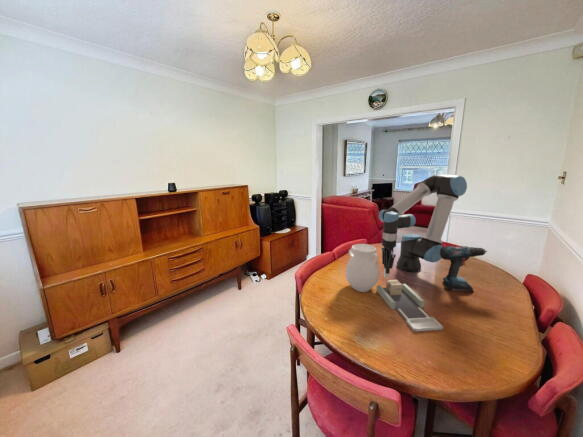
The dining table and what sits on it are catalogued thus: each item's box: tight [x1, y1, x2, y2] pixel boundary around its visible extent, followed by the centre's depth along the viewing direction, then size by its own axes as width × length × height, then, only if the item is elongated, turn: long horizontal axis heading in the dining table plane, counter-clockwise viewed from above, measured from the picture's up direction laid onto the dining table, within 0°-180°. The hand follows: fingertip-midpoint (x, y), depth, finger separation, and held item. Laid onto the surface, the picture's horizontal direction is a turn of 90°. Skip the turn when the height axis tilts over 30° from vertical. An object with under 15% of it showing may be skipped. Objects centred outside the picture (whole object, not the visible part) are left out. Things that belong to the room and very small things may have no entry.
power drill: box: [440, 245, 488, 293], centre depth 140 cm, size 9×23×25 cm, turn 78°
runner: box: [382, 287, 431, 322], centre depth 129 cm, size 30×13×1 cm, turn 4°
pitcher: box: [345, 243, 380, 293], centre depth 142 cm, size 19×18×25 cm
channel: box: [376, 283, 425, 310], centre depth 132 cm, size 18×17×4 cm
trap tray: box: [405, 316, 444, 333], centre depth 111 cm, size 7×13×2 cm, turn 94°
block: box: [385, 279, 403, 295], centre depth 138 cm, size 6×6×6 cm
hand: (386, 277), depth 146 cm, fingers closed
